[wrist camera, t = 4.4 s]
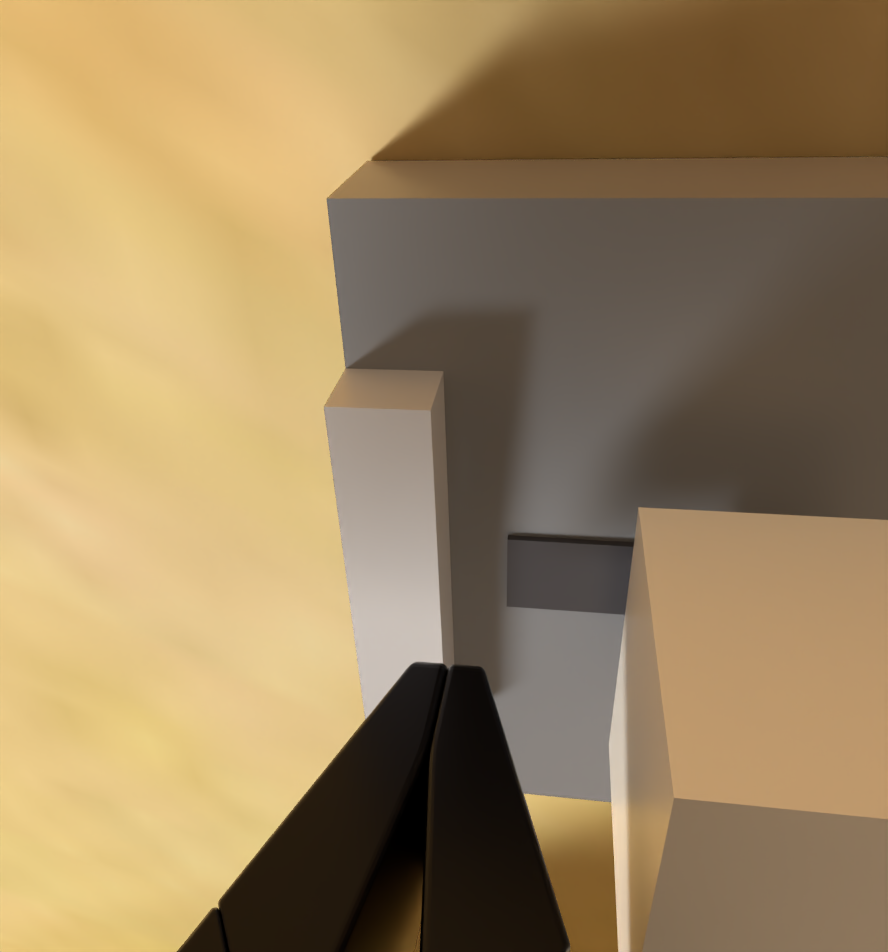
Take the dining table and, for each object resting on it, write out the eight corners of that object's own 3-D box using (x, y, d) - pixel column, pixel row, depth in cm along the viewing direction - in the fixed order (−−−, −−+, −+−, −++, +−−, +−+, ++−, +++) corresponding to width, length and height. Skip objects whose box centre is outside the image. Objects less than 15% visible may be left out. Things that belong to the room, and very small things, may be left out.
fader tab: (822, 717, 11) (949, 1091, 7) (606, 699, 11) (622, 1044, 8) (904, 480, 9) (1143, 846, 5) (634, 468, 9) (672, 797, 6)
